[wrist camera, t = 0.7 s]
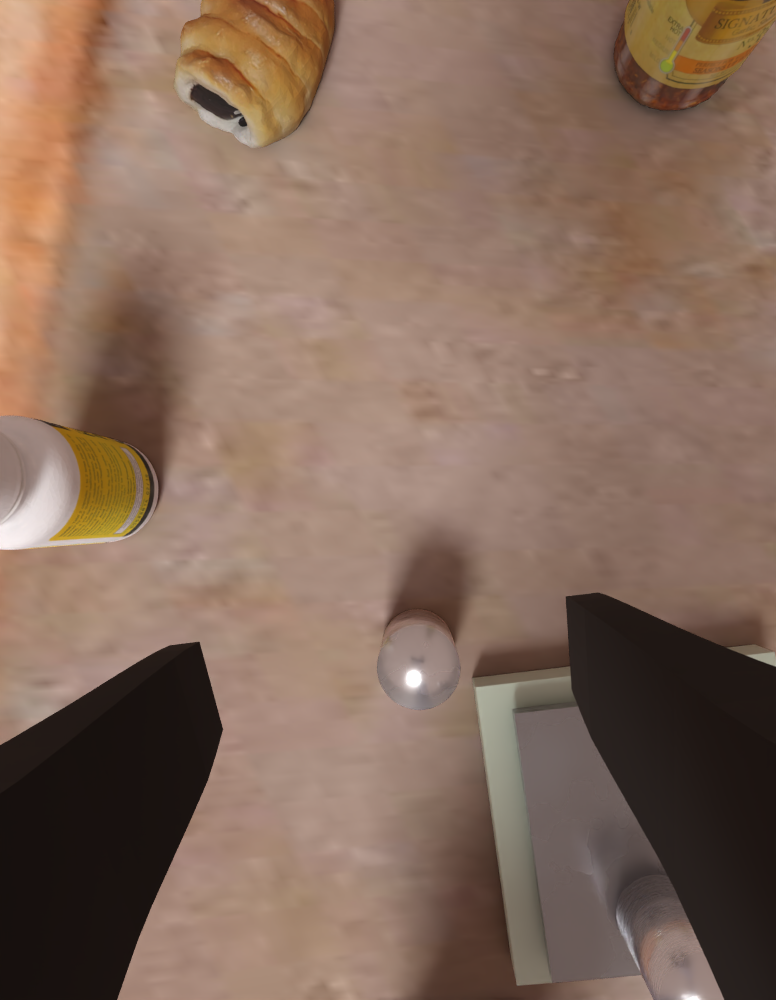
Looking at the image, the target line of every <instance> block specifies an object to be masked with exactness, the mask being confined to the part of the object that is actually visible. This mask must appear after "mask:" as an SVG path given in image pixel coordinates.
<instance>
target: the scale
mask: <svg viewBox="0 0 776 1000" xmlns="http://www.w3.org/2000/svg"><path fill="white" fill-rule="evenodd" d="M728 649H731V650H733V651H736V652H738V653H741V654H744V655H746V656H749V657H751V658H754V659H756V660H759V661H762V662H764V663H767V664H770V665H773V666H776V657H775V652H773V651H771V650H768V649H766V648H763V647H760V646H758V645H755V644H753V645H744V646H736V647H728ZM472 681H473V688H474V695H475V702H476V710H477V717H478V724H479V731H480V738H481V746H482V753H483V760H484V767H485V774H486V781H487V789H488V796H489V803H490V810H491V817H492V825H493V832H494V839H495V846H496V853H497V861H498V868H499V875H500V882H501V889H502V897H503V904H504V911H505V918H506V925H507V933H508V940H509V947H510V954H511V961H512V965H513V970H514V975H515V979H516V984H517V986H522V985H533V984H544V983H552V980H551V977H550V973H549V969H548V961H547V954H546V947H545V940H544V933H543V926H542V919H541V912H540V905H539V898H538V891H537V884H536V877H535V869H534V862H533V855H532V848H531V841H530V834H529V827H528V820H527V813H526V806H525V799H524V792H523V784H522V777H521V770H520V763H519V756H518V749H517V742H516V735H515V728H514V721H513V714H512V709H514V708H523V707H532V706H540V705H549V704H557V703H566V702H575V701H576V700H575V697H574V695H573V692H572V689H571V673H570V666H568V667H560V668H552V669H543V670H535V671H526V672H518V673H510V674H501V675H493V676H484V677H476V678H472Z"/></svg>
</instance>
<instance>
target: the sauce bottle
mask: <svg viewBox="0 0 776 1000" xmlns="http://www.w3.org/2000/svg"><path fill="white" fill-rule="evenodd" d="M775 20H776V0H629V3H628V5H627V7H626V11H625V19H624V22H623V24H622V26H621V29H620V31H619V35H618V38H617V40H616V43H615V49H614V61H615V71H616V73H617V75H618V78H619V82H620V83H621V84H622V85H623V86H624V87H625V89H626V91H627V92H628V93H629V94H630V95H631V96H632V97H633V98H634V99H635V100H636V101H637V102H639V103H640V104H642V105H644V106H648V107H649V108H654V109H659V110H681V109H686V108H688V107H694V106H696V105H697V104H699V103H701V102H704V101H706V100H708V99H709V98H710V97H711V96H712V95H713V94H714V93H715V92H716V91H717V90H718V89H719V88H720V87H721V86H722V85H723V84H724V83H725V81H726V80H727V78H728V77H729V76H730V75H732V74H733V73H734V72H736V71H737V70H738V69H739V68H740V66H741V65H742V64H743V63H744V61H745V60H746V59H747V57H748V56H749V55H750V53H751V52H752V51H753V49H754V48H755V47H756V45H757V44H758V43H759V41H760V40H761V39H762V37H763V36H764V35H765V33H766V32H767V31H768V29H769V28H770V27H771V25H772V24H773V23H774V21H775Z"/></svg>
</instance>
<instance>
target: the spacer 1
mask: <svg viewBox="0 0 776 1000" xmlns="http://www.w3.org/2000/svg"><path fill="white" fill-rule="evenodd" d="M377 673H378V678H379V681H380V684H381V686H382V688H383V690H384V691H385V693H386V694H387V695H388V696H389V697H390V698H391V699H392V700H393V701H394V702H396V703H397V704H399V705H401V706H403V707H406V708H409V709H414V710H425V709H430V708H433V707H436V706H438V705H440V704H441V703H443V702H444V701H445V700H447V699H448V698H449V697H450V695H451V694H452V693H453V691H454V690H455V688H456V686H457V684H458V681H459V677H460V661H459V656H458V653H457V650H456V647H455V644H454V640H453V637H452V634H451V631H450V629H449V627H448V626H447V624H446V623H445V622H444V620H443V619H442V618H440V617H439V616H438V615H436V614H435V613H433V612H431V611H428V610H423V609H411V610H407V611H404V612H402V613H400V614H399V615H397V616H396V617H395V618H394V619H393V620H392V621H391V622H390V623H389V625H388V626H387V628H386V630H385V633H384V636H383V640H382V644H381V648H380V653H379V657H378V662H377Z"/></svg>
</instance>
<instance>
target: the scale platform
mask: <svg viewBox="0 0 776 1000" xmlns="http://www.w3.org/2000/svg"><path fill="white" fill-rule="evenodd" d="M512 714H513V721H514V728H515V735H516V742H517V749H518V756H519V763H520V770H521V777H522V784H523V792H524V799H525V806H526V813H527V820H528V827H529V834H530V841H531V848H532V855H533V862H534V869H535V877H536V884H537V891H538V898H539V905H540V912H541V919H542V926H543V933H544V940H545V947H546V954H547V961H548V969H549V973H550V977H551V980H552V983H559V982H570V981H581V980H592V979H603V978H614V977H625V976H636V975H641V973H640V971H639V969H638V967H637V965H636V963H635V961H634V959H633V957H632V955H631V953H630V951H629V948H628V946H627V944H626V942H625V940H624V938H623V936H622V934H621V932H620V930H619V928H618V925H617V920H616V907H617V902H618V899H619V897H620V895H621V893H622V891H623V890H624V889H625V887H626V886H627V885H628V884H630V883H631V882H632V881H634V880H635V879H637V878H639V877H642V876H645V875H650V874H660V875H666V876H667V874H666V872H665V870H664V868H663V866H662V864H661V862H660V860H659V858H658V856H657V855H656V853H655V851H654V849H653V848H652V846H651V844H650V842H649V841H648V839H647V837H646V835H645V833H644V832H643V830H642V828H641V826H640V825H639V823H638V821H637V819H636V817H635V816H634V814H633V812H632V810H631V809H630V807H629V805H628V803H627V802H626V800H625V798H624V796H623V794H622V793H621V791H620V789H619V787H618V786H617V784H616V782H615V780H614V779H613V777H612V775H611V773H610V771H609V770H608V768H607V766H606V764H605V762H604V761H603V759H602V757H601V755H600V753H599V752H598V750H597V748H596V746H595V744H594V742H593V741H592V739H591V737H590V734H589V732H588V729H587V727H586V725H585V722H584V720H583V718H582V715H581V713H580V710H579V707H578V705H577V702H576V701H575V702H566V703H557V704H549V705H540V706H532V707H523V708H514V709H512Z"/></svg>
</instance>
